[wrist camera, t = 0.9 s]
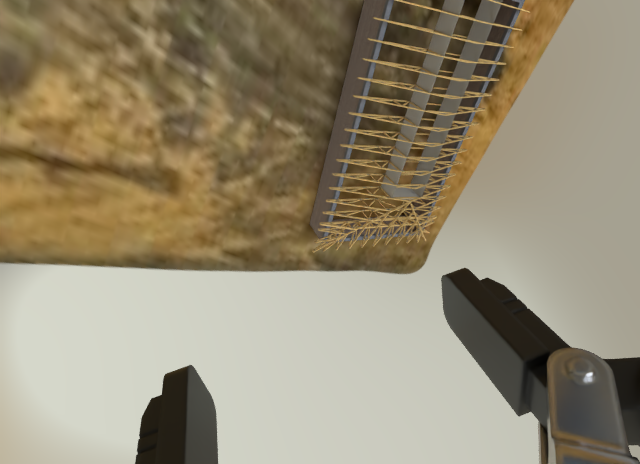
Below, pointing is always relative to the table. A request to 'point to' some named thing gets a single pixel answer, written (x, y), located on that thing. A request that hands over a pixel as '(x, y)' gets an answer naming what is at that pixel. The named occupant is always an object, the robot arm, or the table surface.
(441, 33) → the rafter model
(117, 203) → the table surface
